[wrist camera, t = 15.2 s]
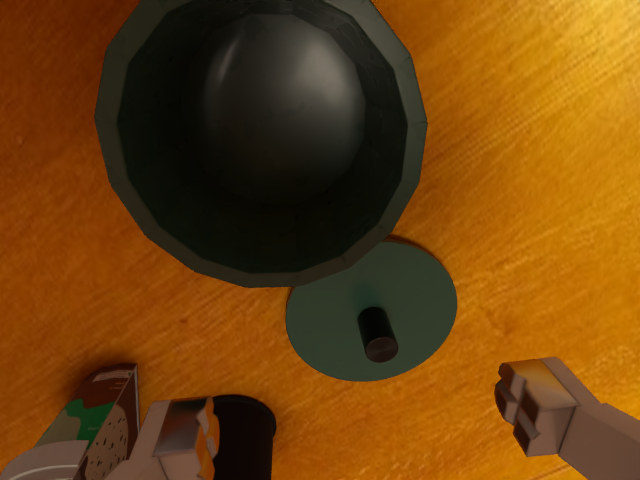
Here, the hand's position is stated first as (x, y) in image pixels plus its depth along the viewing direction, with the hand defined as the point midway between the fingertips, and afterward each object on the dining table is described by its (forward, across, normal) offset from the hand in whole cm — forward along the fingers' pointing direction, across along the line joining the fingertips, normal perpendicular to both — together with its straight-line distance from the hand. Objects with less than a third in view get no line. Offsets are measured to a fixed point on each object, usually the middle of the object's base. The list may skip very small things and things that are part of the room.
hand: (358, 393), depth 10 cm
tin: (+17, +2, -5) cm, 18 cm away
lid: (+16, -4, +10) cm, 20 cm away
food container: (+17, +20, +18) cm, 32 cm away
